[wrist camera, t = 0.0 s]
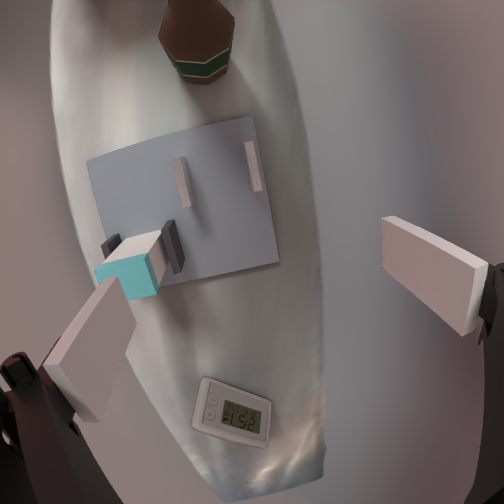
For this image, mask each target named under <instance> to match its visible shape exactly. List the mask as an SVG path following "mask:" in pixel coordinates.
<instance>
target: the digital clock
mask: <svg viewBox="0 0 504 504" xmlns="http://www.w3.org/2000/svg"><path fill="white" fill-rule="evenodd" d="M271 408H272V405H271V402H270V401H269V400H267V399H264V398H261V397H259V396H257V395H254V394H251V393H249V392H246V391H243V390H241V389H238V388H235V387H233V386H230V385H228V384H225V383H222V382H220V381H216V380H214V379H211V378H208V377H203V378H202V379H201V381H200V384H199V389H198V393H197V398H196V402H195V407H194V411H193V416H192V421H191V427H192V428H193V429H195V430H197V431H200V432H203V433H206V434H209V435H211V436H213V437H216V438H219V439H223V440H226V441H230V442H234V443H237V444H241V445H245V446H253V447H257V448H267V447H268V444H269V435H270V421H271Z"/></svg>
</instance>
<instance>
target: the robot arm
mask: <svg viewBox="0 0 504 504" xmlns="http://www.w3.org/2000/svg"><path fill="white" fill-rule="evenodd" d="M381 226H382V259H383V261H382V262H383V269H384V270H385V271H387V272H388V273H389V274H390V275H391V276H393V277H394V278H395V279H396V280H398V281H399V282H400V283H401V284H403V285H404V286H405V287H406V288H407V289H408V290H410V291H411V292H412V293H413V294H414V295H416V296H417V297H418V298H419V299H420V300H422V301H423V302H424V303H425V304H426V305H427V306H429V307H430V308H431V309H432V310H433V311H434V312H435V313H436V314H438V315H439V316H440V317H441V318H442V319H443V320H444V321H446V322H447V323H448V324H449V325H450V326H451V327H452V328H453V329H454V330H455V331H457V332H458V333H459V334H460V335H461V336H463V335H466V334H467V333H469V332H471V331H473V330H475V327H476V324H477V319H478V316H480V317H481V318H482V319H484V322H483V326H482V329H481V333H480V336H479V340H478V345H480V342H481V340H483V346H484V366H485V367H484V370H485V392H484V393H485V395H484V417H483V428H482V437H481V445H480V453H479V459H478V465H477V471H476V476H475V480H474V484H473V486H472V489H471V491H470V492H469V494H468V496H467V497H466V499H465V501H464V504H504V263H500V264H497V265H496V266H493V265H491V264H489V263H488V262H486V261H484V260H482V259H480V258H478V257H477V256H475V255H473V254H471V253H469V252H468V251H465V250H464V249H462V248H460V247H458V246H456V245H454V244H452V243H450V242H448V241H446V240H444V239H442V238H440V237H438V236H436V235H434V234H432V233H430V232H428V231H426V230H423V229H422V228H419V227H417V226H415V225H413V224H411V223H409V222H406V221H404V220H402V219H400V218H398V217H395V216H389V217H385V218H381ZM136 324H137V322H136V320H135V318H134V315H133V313H132V311H131V308H130V306H129V303H128V301H127V298H126V296H125V293H124V291H123V288H122V286H121V283H120V280H119V278H118V276H113V277H109V278H105V279H104V280H103V281H102V282H101V284H100V285H99V286H98V287H97V289H96V290H95V291H94V293H93V294H92V295H91V297H90V298H89V299H88V301H87V302H86V303H85V305H84V306H83V307H82V309H81V310H80V311H79V313H78V314H77V315H76V317H75V318H74V320H73V321H72V323H71V324H70V325H69V327H68V328H67V330H66V331H65V332H64V334H63V335H62V336H61V337H60V338H59V339H58V340H57V342H56V343H55V344H54V346H53V348H52V349H51V350H50V352H49V354H48V355H47V356H46V358H45V360H44V361H43V363H42V364H41V366H40V367H39V369H38V370H37V371H36V369H35V368H34V366H33V364H32V363H31V361H30V359H29V358H28V356H27V355H26V353H24V352H18V353H15V354H13V355H11V356H10V357H8V358H7V359H6V360H5V361H4V362H3V363H2V365H1V366H0V374H1V375H2V376H3V378H4V379H5V381H6V382H7V384H8V385H9V387H10V388H11V389H12V390H11V391H7V392H4V391H3V390H2V388H1V387H0V504H124V503H123V502H122V501H121V499H120V498H119V497H118V495H117V493H116V492H115V491H114V489H113V487H112V486H111V484H110V483H109V481H108V480H107V478H106V476H105V475H104V473H103V471H102V470H101V468H100V466H99V465H98V463H97V461H96V460H95V458H94V456H93V454H92V452H91V451H90V449H89V447H88V445H87V443H86V441H85V439H84V437H83V435H82V433H81V431H80V429H79V427H78V425H77V424H76V423H75V422H74V420H73V416H74V413H75V412H76V413H77V414H78V415H79V417H80V418H81V419H82V420H83V422H92V423H101V420H102V417H103V414H104V411H105V407H106V405H107V401H108V398H109V396H110V393H111V390H112V387H113V384H114V381H115V379H116V376H117V373H118V370H119V368H120V364H121V362H122V360H123V357H124V354H125V352H126V349H127V347H128V344H129V342H130V339H131V336H132V334H133V332H134V329H135V327H136ZM2 432H3V433H4V434H5V435H6V437H7V438H8V439H9V440H10V442H9V445H8V444H7V443H6V442H5V441H4V438H3V436H2Z"/></svg>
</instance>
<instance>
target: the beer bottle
mask: <svg viewBox="0 0 504 504" xmlns="http://www.w3.org/2000/svg"><path fill="white" fill-rule="evenodd" d="M168 4H169V7H168V8H167V10H166V12H165V15H164V18H163V22H162V25H161V28H160V32H159V35H158V36H159V40H160V42H161V44H162V46H163V48H164V50H165V52H166V53H167V55H168V57H169V59H170V61H171V62H172V64H173V66H174V67H175V68H176V69H177V71H178V72H179V73H180V74H181V75H182V77H183V78H184V79H185V80H186V82H188V83H199V84H210V83H211V82H213V81H214V80H216V79H217V78H219V77H221V76H222V75H224V74H225V73H226V71H227V67H228V63H229V58H230V53H231V48H232V40H233V33H234V26H235V22H234V17H233V16H232V15H231V14H230V13H229V11H228V10H227V9H226V8H225V7H224V6H223V5H222V4H221V3H220V2H219V1H218V0H168Z"/></svg>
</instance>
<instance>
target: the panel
mask: <svg viewBox="0 0 504 504" xmlns="http://www.w3.org/2000/svg"><path fill="white" fill-rule="evenodd" d="M249 141H253V144H254V149H255V154H256V159H257V165H258V170H259V175H260V180H261V185H262V190H261V191H256V192H254V191H253V190H252V189H251V188H250V185H249V180H248V175H247V170H246V165H245V160H244V155H243V150H242V145H241V144H242V143H244V142H249ZM182 156H185V159H186V164H187V168H188V173H189V177H190V181H191V186H192V190H193V194H194V201H193V203H192V205H191V206H189V207H184V208H183V205H182V201H181V197H180V193H179V189H178V185H177V181H176V176H175V172H174V168H173V163H172V159H173V158H177V157H182ZM86 164H87V168H88V173H89V177H90V181H91V185H92V189H93V193H94V197H95V200H96V204H97V208H98V211H99V215H100V218H101V222H102V225H103V228H104V231H105V235H106V238H107V240H108V239H109V238H110V237H111V236H112V235H115V234H118V233H119V235H120V238H121V241H122V242H123V241H124V240H125V239H126V238H130V237H133V236H137V235H141V234H145V233H149V232H153V231H157V230H161V229H162V228H163V226H164V225H165V223H166V222H167V221H168V220H172V219H174V220H175V223H176V227H177V231H178V235H179V238H180V242H181V245H182V249H183V253H184V256H185V262H184V265H183V269H182V272H181V273H178V274H174V273H173V270H172V267H171V263H170V260H169V262H168V265H167V267H166V270H165V272H164V274H163V277H162V279H161V282H160V284H159V287H164V286H169V285H173V284H178V283H183V282H188V281H192V280H197V279H202V278H206V277H211V276H216V275H220V274H225V273H229V272H234V271H238V270H243V269H248V268H252V267H257V266H261V265H266V264H270V263H274V262H279V261H280V260H279V255H278V249H277V243H276V237H275V232H274V226H273V220H272V215H271V209H270V204H269V198H268V193H267V187H266V182H265V177H264V172H263V166H262V161H261V156H260V151H259V146H258V141H257V136H256V131H255V126H254V121H253V116H248V117H243V118H237V119H232V120H227V121H222V122H217V123H212V124H208V125H204V126H199V127H195V128H191V129H187V130H183V131H179V132H175V133H171V134H168V135H164V136H160V137H157V138H153V139H150V140H147V141H143V142H140V143H137V144H134V145H130V146H127V147H124V148H121V149H118V150H115V151H112V152H110V153H107V154H104V155H101V156H98V157H96V158H93V159H90V160H88V161H86Z"/></svg>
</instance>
